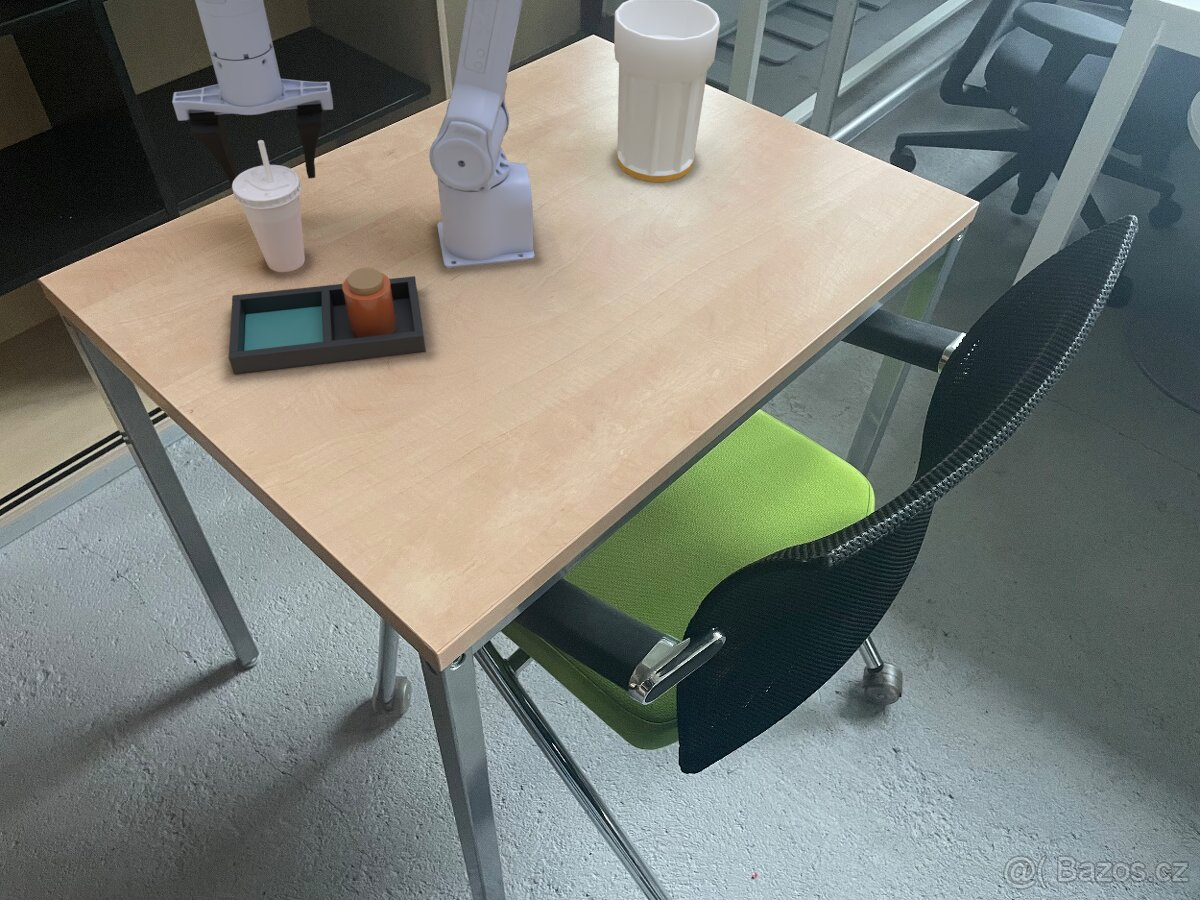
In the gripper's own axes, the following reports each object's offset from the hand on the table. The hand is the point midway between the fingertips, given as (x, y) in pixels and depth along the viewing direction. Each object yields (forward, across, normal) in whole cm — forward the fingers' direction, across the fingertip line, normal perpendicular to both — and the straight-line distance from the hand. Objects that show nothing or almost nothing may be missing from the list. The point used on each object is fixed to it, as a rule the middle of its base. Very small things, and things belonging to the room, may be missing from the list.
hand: (273, 176), depth 98 cm
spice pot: (+6, -8, +18) cm, 21 cm away
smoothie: (+7, 0, +6) cm, 9 cm away
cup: (+7, -43, -7) cm, 44 cm away
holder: (+6, -4, +18) cm, 20 cm away
